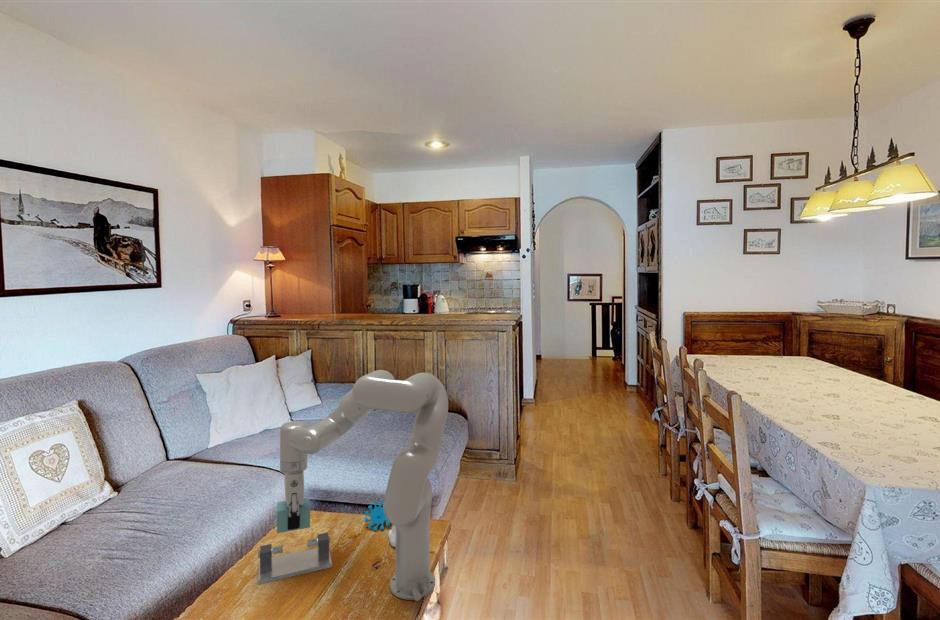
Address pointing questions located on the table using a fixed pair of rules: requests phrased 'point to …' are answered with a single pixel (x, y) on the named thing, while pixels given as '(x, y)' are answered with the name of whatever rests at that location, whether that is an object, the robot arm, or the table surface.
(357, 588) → the table surface
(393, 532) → the seated beast figurine
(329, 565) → the shaft rig
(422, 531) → the robot arm
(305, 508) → the teal block
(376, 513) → the blue lumpy piece
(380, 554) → the table surface
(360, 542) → the table surface
